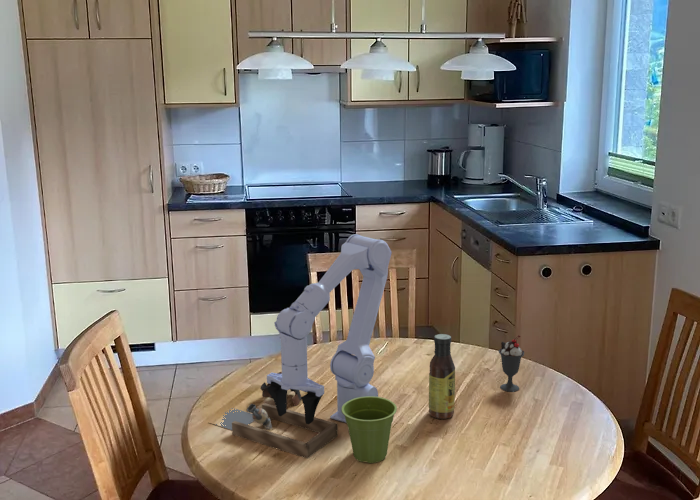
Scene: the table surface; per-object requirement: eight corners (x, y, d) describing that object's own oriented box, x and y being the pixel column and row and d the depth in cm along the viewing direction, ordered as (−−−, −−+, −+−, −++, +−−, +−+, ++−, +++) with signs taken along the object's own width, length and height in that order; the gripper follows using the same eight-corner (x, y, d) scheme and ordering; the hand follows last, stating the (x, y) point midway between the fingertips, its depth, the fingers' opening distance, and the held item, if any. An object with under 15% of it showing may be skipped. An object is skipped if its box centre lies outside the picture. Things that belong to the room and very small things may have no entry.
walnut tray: (337, 435, 167) (337, 423, 166) (307, 458, 157) (307, 445, 156) (264, 414, 178) (264, 403, 177) (232, 434, 168) (231, 422, 167)
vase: (249, 433, 168) (248, 409, 167) (246, 425, 173) (245, 401, 172) (272, 430, 169) (271, 406, 168) (268, 422, 174) (267, 398, 173)
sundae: (525, 393, 188) (528, 338, 184) (499, 393, 188) (501, 338, 184) (520, 382, 194) (522, 329, 191) (494, 382, 194) (496, 329, 191)
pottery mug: (292, 413, 179) (274, 386, 178) (267, 419, 185) (250, 393, 184) (316, 384, 188) (300, 358, 187) (292, 391, 194) (276, 366, 193)
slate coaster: (261, 417, 177) (261, 416, 176) (236, 432, 169) (236, 431, 169) (232, 409, 181) (232, 407, 181) (207, 423, 174) (207, 422, 174)
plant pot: (364, 437, 166) (364, 391, 163) (407, 453, 159) (407, 405, 156) (330, 457, 157) (330, 409, 154) (374, 476, 150) (374, 425, 147)
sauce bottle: (453, 421, 173) (455, 342, 168) (427, 419, 174) (428, 341, 170) (455, 409, 179) (457, 333, 175) (429, 407, 180) (431, 331, 176)
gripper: (257, 361, 162) (259, 417, 165) (310, 374, 154) (312, 433, 157) (276, 351, 167) (278, 405, 171) (329, 363, 160) (330, 420, 163)
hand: (295, 418), depth 164 cm, fingers open, 7 cm apart
